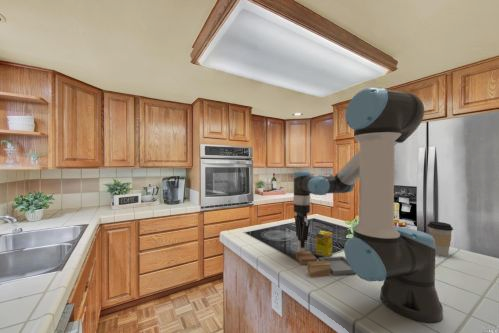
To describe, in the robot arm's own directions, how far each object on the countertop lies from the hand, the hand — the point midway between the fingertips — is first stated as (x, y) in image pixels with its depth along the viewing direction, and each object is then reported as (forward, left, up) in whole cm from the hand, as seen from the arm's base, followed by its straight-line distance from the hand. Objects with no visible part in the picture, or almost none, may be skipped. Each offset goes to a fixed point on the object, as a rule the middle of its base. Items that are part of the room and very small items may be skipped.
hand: (301, 253), depth 99 cm
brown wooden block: (-5, 0, -2) cm, 5 cm away
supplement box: (-1, -11, -1) cm, 11 cm away
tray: (-13, -11, -1) cm, 17 cm away
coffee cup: (-7, -69, -1) cm, 69 cm away
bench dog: (-17, 0, -1) cm, 17 cm away
